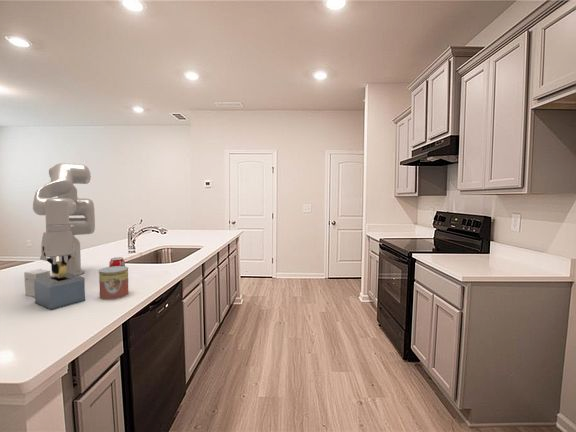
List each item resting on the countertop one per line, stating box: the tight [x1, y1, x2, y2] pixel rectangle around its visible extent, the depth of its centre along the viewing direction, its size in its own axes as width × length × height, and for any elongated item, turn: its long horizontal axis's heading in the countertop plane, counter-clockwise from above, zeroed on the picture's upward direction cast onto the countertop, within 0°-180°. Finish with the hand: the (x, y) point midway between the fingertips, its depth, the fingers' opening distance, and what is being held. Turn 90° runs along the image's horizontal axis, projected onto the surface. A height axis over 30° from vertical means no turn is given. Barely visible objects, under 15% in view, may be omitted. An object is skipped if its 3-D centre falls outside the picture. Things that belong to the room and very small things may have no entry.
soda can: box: [108, 256, 126, 267], centre depth 149 cm, size 7×7×12 cm
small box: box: [23, 269, 51, 298], centre depth 127 cm, size 8×6×10 cm
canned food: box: [98, 265, 130, 301], centre depth 128 cm, size 11×11×12 cm
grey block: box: [34, 273, 86, 311], centre depth 119 cm, size 14×12×10 cm
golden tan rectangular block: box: [51, 260, 67, 278], centre depth 118 cm, size 5×2×6 cm
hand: (59, 272), depth 118 cm, fingers closed on golden tan rectangular block, 2 cm apart
